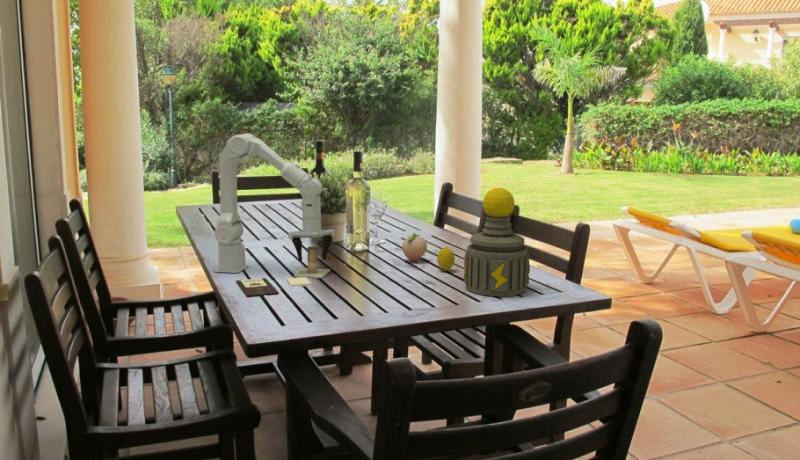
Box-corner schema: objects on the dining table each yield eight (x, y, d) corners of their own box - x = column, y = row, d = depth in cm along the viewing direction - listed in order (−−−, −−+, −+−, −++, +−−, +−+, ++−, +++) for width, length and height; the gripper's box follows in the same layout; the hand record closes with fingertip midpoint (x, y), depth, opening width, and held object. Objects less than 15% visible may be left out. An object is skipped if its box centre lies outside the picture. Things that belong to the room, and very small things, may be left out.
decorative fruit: (424, 265, 246) (424, 235, 244) (400, 263, 248) (400, 234, 246) (428, 259, 255) (429, 230, 253) (405, 257, 257) (405, 229, 255)
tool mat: (303, 269, 239) (303, 268, 239) (330, 270, 237) (330, 269, 237) (293, 276, 229) (293, 275, 229) (321, 278, 228) (321, 276, 228)
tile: (286, 278, 224) (291, 284, 217) (305, 277, 226) (311, 283, 219) (286, 282, 225) (291, 288, 217) (306, 280, 226) (311, 287, 219)
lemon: (445, 268, 242) (445, 244, 240) (457, 271, 238) (458, 247, 236) (433, 271, 238) (433, 246, 236) (446, 274, 234) (446, 249, 233)
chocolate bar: (247, 295, 206) (235, 280, 222) (247, 298, 206) (235, 283, 222) (278, 292, 209) (265, 278, 225) (279, 295, 209) (265, 281, 225)
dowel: (309, 271, 235) (309, 246, 234) (318, 271, 234) (318, 246, 233) (306, 273, 232) (306, 248, 231) (315, 273, 231) (315, 248, 230)
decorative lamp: (462, 280, 226) (464, 183, 221) (523, 281, 226) (527, 184, 220) (465, 297, 208) (468, 191, 202) (532, 298, 207) (537, 192, 202)
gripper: (291, 220, 224) (292, 264, 226) (337, 218, 229) (337, 261, 231) (286, 217, 230) (287, 259, 233) (331, 214, 235) (332, 256, 238)
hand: (312, 260), depth 232 cm, fingers open, 7 cm apart
